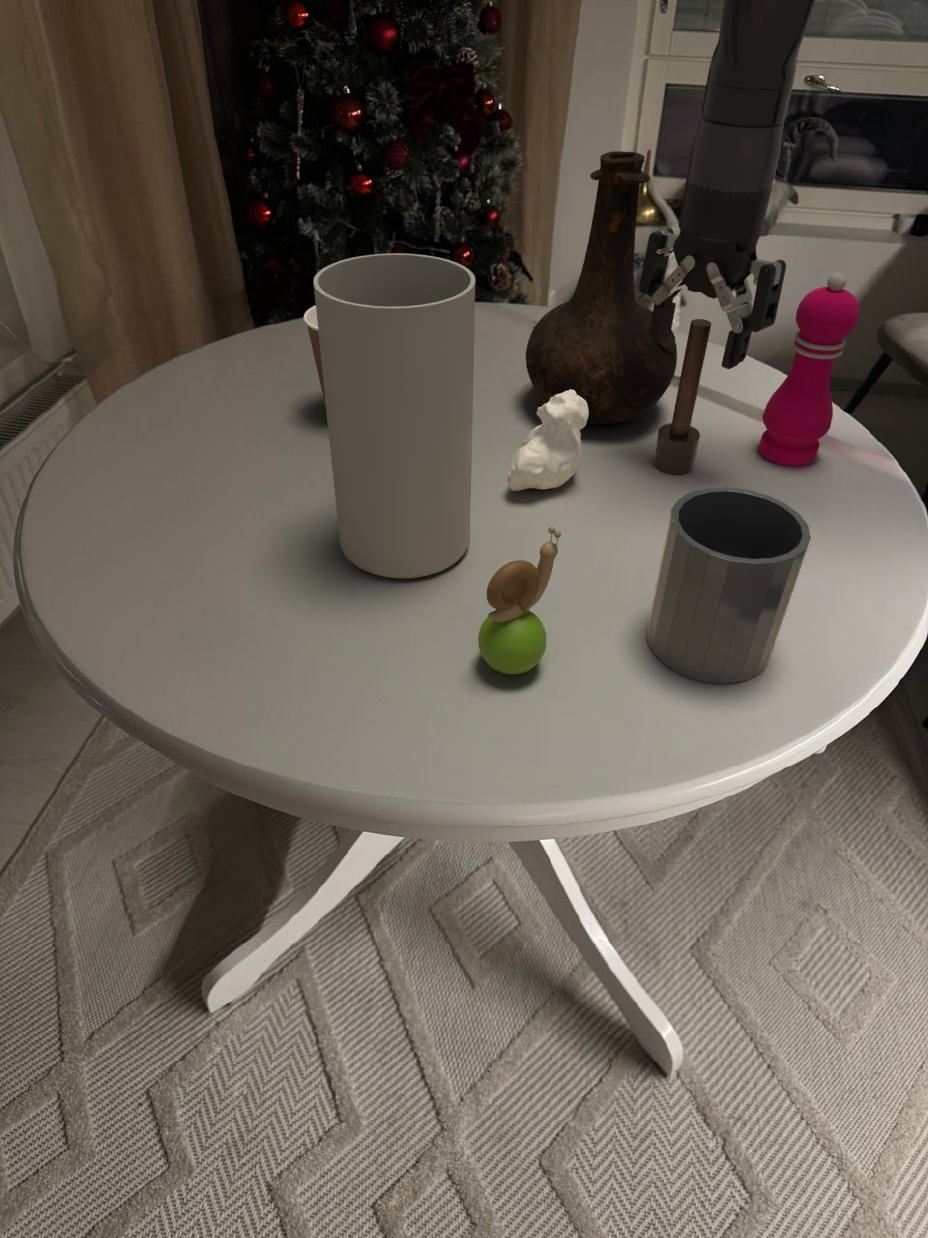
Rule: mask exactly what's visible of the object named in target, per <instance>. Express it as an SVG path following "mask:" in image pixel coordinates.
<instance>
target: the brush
mask: <svg viewBox="0 0 928 1238" xmlns="http://www.w3.org/2000/svg"><path fill="white" fill-rule="evenodd" d="M689 324H690V325H689V328H688V329H689V331H688V335H687V340H686V345H685V351H684V356H683V361H682V367H681V372H680V376H679V383H678V387H677V393H676V399H675V404H674V409H673V414H672V420H671V422H670V423H666V424H663V425H661V426H660V427H659V429H658V432H657V433H658V434H657V439H656V444H655V449H654V456H653V461H652V463H653V466H654V467H655V468H656V469H657V470H658V471H660V472H662V473H664V474H669V475H675V476H679V475H686V474H689V473H690V472H691V471H692V470H693V469H694V465H695V461H696V456H697V452H698V447H699V443H700V439H701V433H700V431H699V430H698V429H697V428H696V427H694V426H692V421H693V416H694V411H695V406H696V401H697V397H698V392H699V387H700V382H701V377H702V372H703V367H704V362H705V358H706V354H707V353H706V352H707V348H708V343H709V338H710V333H711V329H712V322H711V321H709V320H707V319H702V318H695V319H692V320H691V321H690V323H689Z"/></svg>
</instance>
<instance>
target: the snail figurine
mask: <svg viewBox="0 0 928 1238" xmlns="http://www.w3.org/2000/svg"><path fill="white" fill-rule="evenodd" d="M548 533H549V534H550V540H549V541H547V542H545V543H543V544H542V545H541V546H540V549H539V557H540V558H539V561H538V564H537V566H535V565H534V564H533V563H532V562H529V561H527V560H524V559H517V560H512V561H510V562H507V563H505V564H504V565H502V566H501V567H500V568H499V569H498V570H497V571H496V572H495V573H494V574H493V576H492V577H491V578H490V580H489V582H488V584H487V588H486V600H487V603H488V605H489V606H490V607H491V608H493V609H495V610H493V611H490V612H488V614H487V616H486V618H485V619H484V620H483V622H482V623H481V626H480V628H479V631H478V636H477V644H478V649H479V653H480V655H481V657H482V659H483V660H484V661H485V662H486V664H487V665H488V666H489V667H490V668H492V669H493V670H494V671H497V672H499V673H501V674H505V675H519V674H523V673H526V672H528V671H530V670H531V669H533V668H535V666H537V665H538V664H539V662H540V661H541V660H542V658H543V656H544V654H545V652H546V650H547V649H546V648H547V642H548V641H547V639H548V638H547V632H546V629H545V626H544V624H543V622H542V621H541V619H540V618H539V617H538V616H537V615H536V613H534V612H533V611H531V610H530V609H532V608H533V607H534V606H535V605H536V604H537V603H538V602H539V601H540V600H541V598H542V597H543V595H544V593H545V591H546V589H547V587H548V584H549V582H550V579H551V576H552V572H553V568H554V562H555V559H556V557H557V555H558V552H559V548H558V543H559V538H561V537H562V532H561V531H560V530H556V528H555V527H554V526H549V527H548ZM553 536H554V537H555V538H556V543H555V542H553V541H552V540H553Z"/></svg>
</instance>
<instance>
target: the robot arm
mask: <svg viewBox="0 0 928 1238" xmlns="http://www.w3.org/2000/svg"><path fill="white" fill-rule="evenodd" d="M815 3H816V0H724V1H723V8H722V13H721V21H720V28H719V35H718V41H717V42H716V46H715V48H714V50H713V53H712V57H711V61H710V64H709V68H708V73H707V77H706V82H705V87H704V94H703V100H702V105H701V110H700V117H699V121H698V124H697V125H698V126H697V128H696V133H695V135H694V139H693V142H692V146H691V150H690V157H689V162H688V169H687V173H686V180H685V184H684V191H683V195H682V203H681V208H680V215H679V219H678V229H679V234H678V235H677V234H675V232H674V229H672V228H671V227H667V228H662V229H658V230H656V231H653V232H651V233H650V234H649V236H648V239H647V245H646V250H645V255H644V260H643V265H642V270H641V274H640V279H639V284H638V290H639V292H640V294H642V295H648V297H649V298H651V301H652V303H653V309H652V311H653V314H652V320H651V326H650V332H651V334H652V340H653V341H655V342H657V343H660V342H663V341H665V340H667V339H668V338H669V337H670V333H671V330H672V329H673V328H672V327H673V323H674V317H675V312H676V307H677V306H676V305H677V303H676V302H673V301H674V300H675V298H677V297H678V296H679V295H680V294H681V292H683V291H684V290H685V289H686V290H687V291H689V292H692V293H700V294H701V293H702V294H703V295H704V296H706V297H707V298H709V299H712V300H714V299H717V300H718V303H719V306H720V308H721V310H722V311H723V312H725V314H726V316H727V318H728V322H729V324H730V327H731V329H730V330H729V331H728V334H727V338H726V343H725V347H724V351H723V356H722V360H721V367H722V368H724V369H727V370H731V369H734V368H735V367H738V365H739V364H741V363H742V362H744V360H745V359H746V357H747V353H748V349H749V345H750V342H751V337H752V333H758V332H760V331H762V330H765V329H767V328H770V327H772V326H773V325H774V324H775V322H776V319H777V313H778V308H779V304H780V300H781V294H782V289H783V285H784V279H785V275H786V271H787V270H786V269H787V263H786V262H785V260H784V259H777V260H775V261H774V260H773V261H770V260H769V261H768V260H765V259H764V260H763V259H759V258H758V256H757V255H758V254H757V245H758V242H759V240H760V238H761V235H762V231H763V228H764V223H765V221H766V215H767V212H768V211H767V210H768V207H769V203H770V198H771V193H772V190H773V185H774V182H775V177H776V173H777V169H778V164H779V160H780V156H781V148H782V138H783V132H784V127H785V121H786V116H787V111H788V108H789V103H790V99H791V94H792V91H793V86H794V83H795V76H796V72H797V65H798V59H799V53H800V49H801V45H802V43H803V39H804V37H805V34H806V32H807V28H808V26H809V22H810V19H811V16H812V12H813V10H814V7H815ZM672 254H673V255H674V258H675V261H676V264H677V267H676V268H675V269H673V271H672V272H671V273H670V274H669V275H668V276H667V277H665V276H666V273H667V268H668V263H669V259H670V256H671V255H672ZM751 274H752V275H753V282H752V283H753V285H755V286H756V287H755V293H754V299H753V294H752V291H751V288H750V285H749V282H748V279H747V278H748V277H749V276H750V275H751ZM733 291H734V292H735V295H736V296H734V294H732V293H733ZM752 300H753V303H752Z"/></svg>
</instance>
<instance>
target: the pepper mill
mask: <svg viewBox="0 0 928 1238" xmlns="http://www.w3.org/2000/svg"><path fill="white" fill-rule="evenodd" d="M847 281H848V280H847V276H846V275H845V274H844V273H842V272H835V273H832V274H831V275H830V276H829V277H828V279H827V282H826V286H822V287H818V288H815V289H813V290H811V291H810V292H808V293H807V294H806V295H805V296H804V297H803V298H802V299H801V301H800V302H799V304H798V307H797V309H796V311H795V322H796V325H797V327H798V329H799V331H797V332H796V333H795V335H794V341H793V342H792V348H793V350H794V351H795V352H794V359H793V362H792V366H791V368H790V371H789V373H788V374H787V376H786V378H785V379H784V380H783V382H782V383H781V384H780V385H779V387H778V388H777V389H776V390H775V391H774V392H773V394H772V395H771V396H770V398H769V399H768V401H767V403H766V406H765V407H764V410H763V413H762V422H763V425H764V427H765V429H766V430H765V431H763V432H762V434H761V438H760V442H759V446H758V450H759V453H760V454H761V455H762V457H764V458H765V459H766V460H769V461H770V462H772V463H774V464H778V465H783V466H786V467H787V466H788V467H803V466H807V465H810V464H811V463H813V462H814V461H815V460H816V458H817V456H818V455H817V454H818V451H819V449H820V441H819V439H821V438H822V437H824V436H825V435H826V434H827V433H828V432H829V431H830V429H831V427H832V421H833V417H834V407H833V406H834V405H833V400H832V394H831V386H830V385H831V383H830V382H831V375H832V370H833V367H834V364H835V362H836V360H837V358H839V357H840V356H842V355H843V353H844V347H845V345H846V344H847V343H846V340H845V337H846V336H848V335H850V333H852V332H853V331H854V329H856V327H857V325H858V322H859V318H860V313H861V311H860V304H859V301H858V299H857V298H856V295H854V294H853V293H852V292H850V291H849V290H847V289H844V288H845V287H846V285H847Z"/></svg>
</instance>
